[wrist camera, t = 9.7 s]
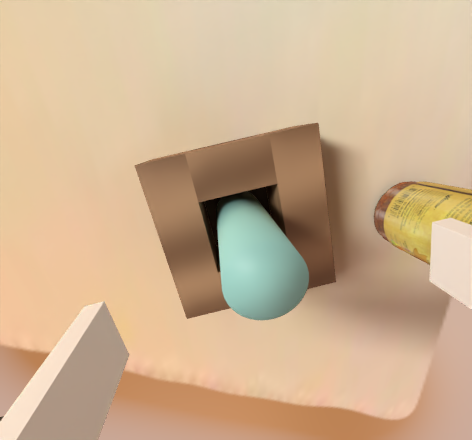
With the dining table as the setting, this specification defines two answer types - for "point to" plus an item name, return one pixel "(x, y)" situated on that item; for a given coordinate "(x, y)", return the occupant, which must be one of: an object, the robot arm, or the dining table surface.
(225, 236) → the dowel
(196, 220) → the socket block
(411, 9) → the dining table surface
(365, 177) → the dining table surface
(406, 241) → the sauce bottle
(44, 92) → the dining table surface
